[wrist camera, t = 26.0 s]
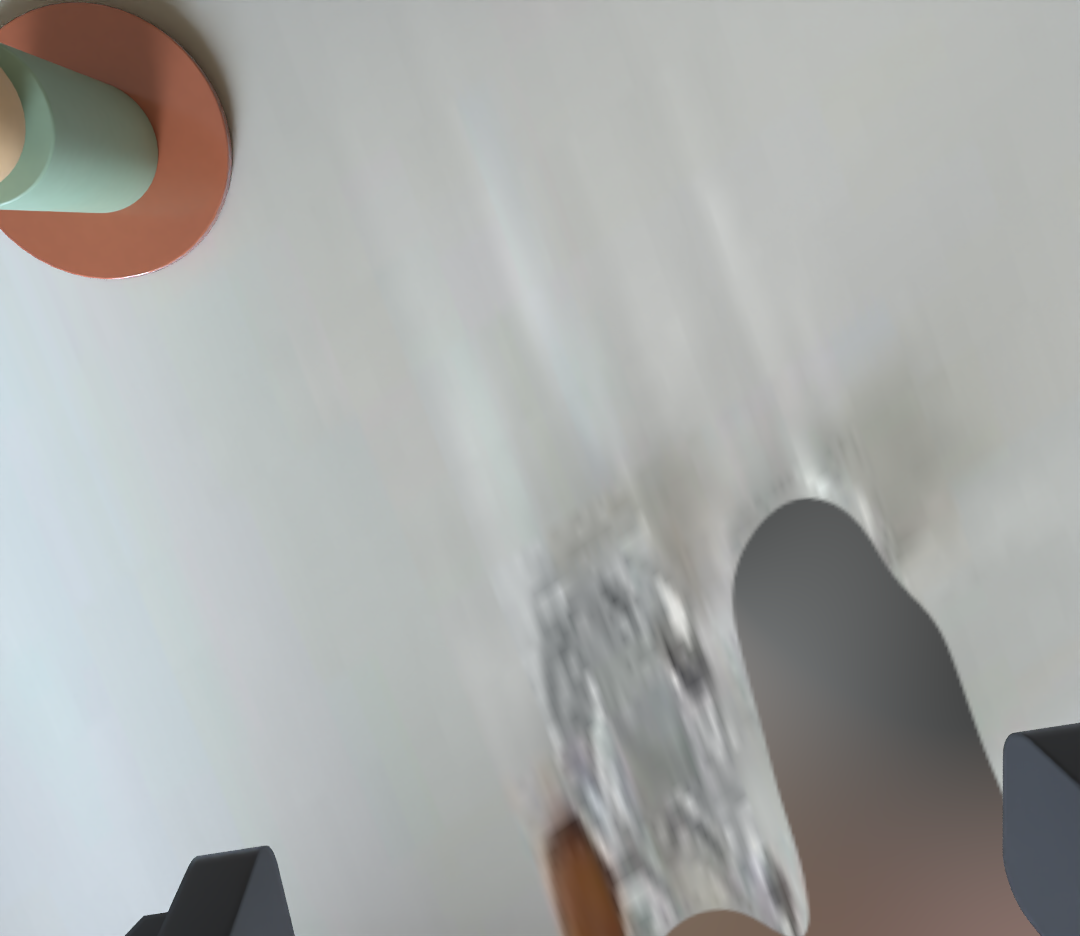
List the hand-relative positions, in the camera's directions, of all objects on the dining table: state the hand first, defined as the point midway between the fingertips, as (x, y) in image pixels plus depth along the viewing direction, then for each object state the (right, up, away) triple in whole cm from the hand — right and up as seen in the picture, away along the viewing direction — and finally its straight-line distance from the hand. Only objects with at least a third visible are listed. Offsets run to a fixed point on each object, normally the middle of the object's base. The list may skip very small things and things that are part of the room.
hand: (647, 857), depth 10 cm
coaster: (-18, +17, +26) cm, 36 cm away
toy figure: (-18, +16, +25) cm, 35 cm away
